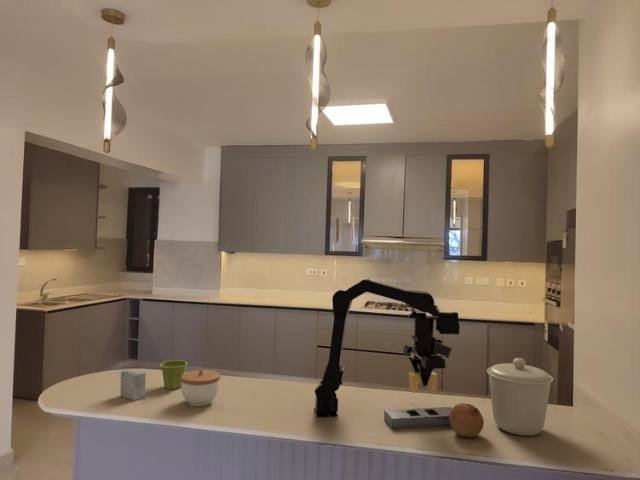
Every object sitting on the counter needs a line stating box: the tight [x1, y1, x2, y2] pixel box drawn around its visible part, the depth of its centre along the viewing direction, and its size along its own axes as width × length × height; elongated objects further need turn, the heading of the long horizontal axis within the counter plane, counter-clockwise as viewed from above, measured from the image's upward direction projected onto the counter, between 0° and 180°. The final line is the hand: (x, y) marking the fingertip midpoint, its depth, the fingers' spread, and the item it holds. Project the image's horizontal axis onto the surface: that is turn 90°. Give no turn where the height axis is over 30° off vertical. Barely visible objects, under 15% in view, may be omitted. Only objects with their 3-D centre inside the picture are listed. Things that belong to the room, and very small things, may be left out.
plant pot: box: [159, 359, 188, 391], centre depth 163 cm, size 9×9×9 cm
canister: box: [486, 357, 554, 437], centre depth 133 cm, size 18×18×21 cm
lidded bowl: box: [181, 368, 221, 407], centre depth 148 cm, size 13×13×11 cm
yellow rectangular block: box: [408, 371, 438, 394], centre depth 136 cm, size 8×3×5 cm, turn 100°
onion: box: [449, 402, 485, 438], centre depth 128 cm, size 10×9×10 cm
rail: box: [383, 406, 453, 430], centre depth 136 cm, size 22×7×3 cm, turn 100°
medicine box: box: [120, 368, 147, 401], centre depth 152 cm, size 8×4×9 cm, turn 58°
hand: (422, 384), depth 136 cm, fingers closed on yellow rectangular block, 3 cm apart
